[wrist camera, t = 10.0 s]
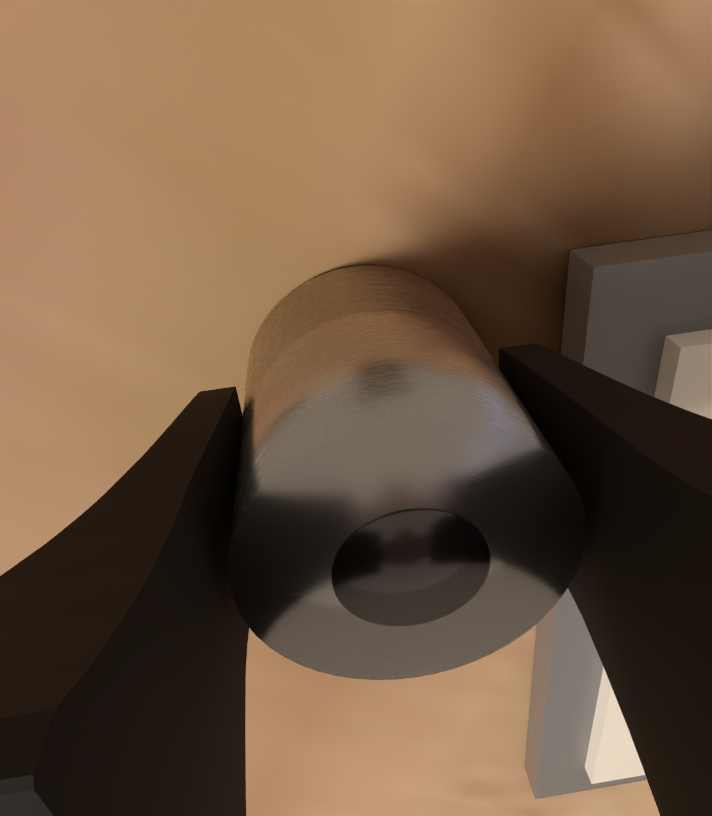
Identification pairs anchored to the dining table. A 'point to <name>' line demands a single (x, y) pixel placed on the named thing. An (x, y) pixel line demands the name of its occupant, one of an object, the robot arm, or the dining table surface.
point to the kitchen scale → (656, 376)
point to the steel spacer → (391, 486)
